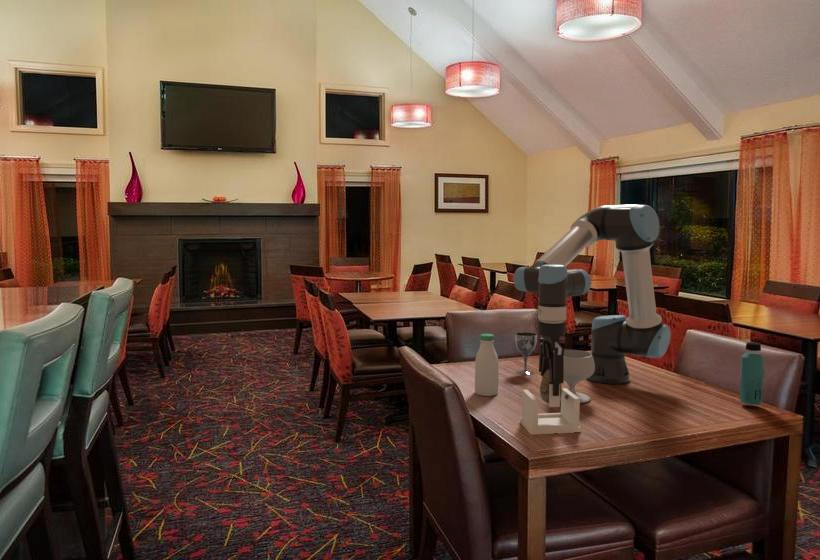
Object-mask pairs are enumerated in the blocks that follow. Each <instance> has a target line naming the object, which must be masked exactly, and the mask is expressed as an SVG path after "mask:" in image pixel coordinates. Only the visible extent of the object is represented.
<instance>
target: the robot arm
mask: <svg viewBox="0 0 820 560" xmlns="http://www.w3.org/2000/svg"><path fill="white" fill-rule="evenodd" d="M659 234H660V219H659V216H658V214H657V212H656V210H655V209H654V208H653V207H652V206H650V205H648V204H638V203H635V204H613V205H612V204H611V205H610V204H605V205H601V206H598V207H595V208H593V209H591V210H588V211H587V212H585V213H584V214H582V215H581V216H579V217H578V218H576V220H575V221H573V223H572V224H571V226H570V229H569V230H568V231H567V232H566V233H565V234H564V235H563V236H562V237H561V238H560V239H558V240H557V241H556V242H555V243H554V244H553V245H552V246H551V247H550V248H549V249H548V250H546V252H545V253H543V254H542V255H541V256H540V257H539V258H537V260H535V261H534V263H532V265H530V266H521V267H518V268H516V269H515V272H514V274H513V284H514V287H515V289H516V290H518V291H521V292H526V293H528V294H529V293H531V294H533V293H535V294H538V304H537V305H538V307H537V309H536V313H537V318H538V320H539V321H538V322H537V334H538V335H539V336H541V337H542V338H539V340H538V343H539V354H538V373H540V376H541V379H542V378H543V375H544V373H545V372H546V371H547V370H548V369H550V376H551V382H548V383H549V404H548V407H549V408H561V401H560V384H561V385H562V384H564V383H565V381H564V350H565V347H564V346H563V347H562V345H561V341H560V338H561V337H564V336H566V335H567V333H566V331H567V323H566V322H565V321H566V320H567V298H570V297H571V298H572V297H579V296H582V295H585V294H586V293H588V292H589V291H590V290H591V289H590V288H591V286H592V279H591V278H592V277H591V275H590V274H589V273H588V271H586V270H584V269H580V268H573V269H568V267H567V266H568V265H570V263H571V262H572V261H574V259H575V258H576V257H577V256H578V255H579V254H580V253H581V252H582V251H584V249H585V248H586V247H590V246H591V247H592V246H593V245H594V244H595V243H596V242H599V241H614V242H615V248H616V250H617V251H619V252H620V253H621V259H622V266H623V273H624V274H623V275H624V284H625V291H626V297H627V305H628V306H627V307H628V313H629V316H628V317H627V316H626V315H623V314H615V315H614V314H612V315H611V314H610V315H603V316H601V315H600V316H596V317H595V318H593V320H592V324H591V345H590V346H591V347H590V349H591V352H590V354H591V355H592V357H593V359H594V363H595V371H594V373H593V375H592V376H590V377H589V378H587V379H586V380H589V381H591V382H594V383H600V384H608V385H609V384H610V385H618V384H619V385H621V384H625V383H628V382H630V372H629V368H628V365H627V361H626V354H628V355H634V356H640V357H644V358H645V357H646V358H647V359H649V358H651V359H660V358H662V357H664V355H665V353H666V352H667V350H668V348H669V345H670V341H671V335H672V334H671V333H672V332H671V331H672V330H671V328H670V326H669V325H667V324H663V318H662V316H661V315H660V314H658V313H657V307H656V305H657V304H656V298H655V296H656V295H655V288H654V281H653V280H654V279H653V271H652V269H653V268H652V262H651V253H650V249H651V248H652V247H653V246H654V241H656V240H657V238H658V237H659ZM540 397H541V396H540ZM540 399H541V400H543V399H542V397H541V398H540ZM543 401H544V400H543Z"/></svg>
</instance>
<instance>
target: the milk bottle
mask: <svg viewBox="0 0 820 560" xmlns="http://www.w3.org/2000/svg"><path fill="white" fill-rule="evenodd" d="M479 342H480V346H479V348H478V350H477V353H476V355H475V361H474V362H475V364H474V392H475V394H476V395H478V396H482V397H493V396H497V395H498V393H499V357H498V354H497V351H496V349H495V346H494V342H495V335H494V334H492V333H482V334H480V335H479Z"/></svg>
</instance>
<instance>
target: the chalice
mask: <svg viewBox="0 0 820 560" xmlns="http://www.w3.org/2000/svg"><path fill="white" fill-rule="evenodd" d="M594 371H595V363H594V359H593V357H592V355H591V352H589V351H585V350H580V349H579V350H578V349H564V383H566V384H567V386H568V390H569V391H570V392H572V393H573V394H574V395H576V396H577V397H578V398H580V404H586V403H589V402H591V401H592V398H591V397H590V396H589V395H588V394H585V393H583V392H582V393H581V392H577V391H575V389H576V386H577V384H579V383H580V382H582V381H584V380H588V379H587V378H589V377H590V376H592V375H593V373H594ZM560 402H561V398H560Z"/></svg>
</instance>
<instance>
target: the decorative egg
mask: <svg viewBox="0 0 820 560" xmlns="http://www.w3.org/2000/svg"><path fill="white" fill-rule="evenodd" d="M548 382H551V376H550V369H548V370H547V371H546V372H545V373H544V375H543V378H542V377H541V382H540V384H539V385H540V386H539V394H540V397H542V399H543V402H545V403H546V404H548V405H549V383H548ZM562 389H563V386H562V383H561V384H560V398H561V395H562ZM542 399H541V400H542Z"/></svg>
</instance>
